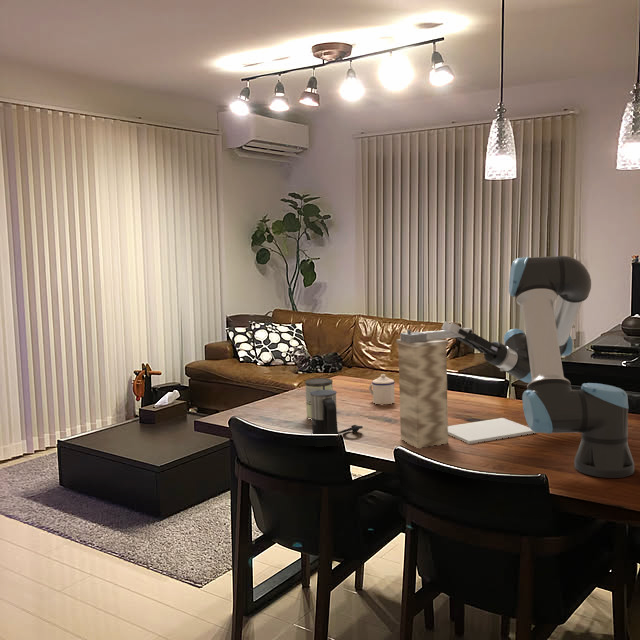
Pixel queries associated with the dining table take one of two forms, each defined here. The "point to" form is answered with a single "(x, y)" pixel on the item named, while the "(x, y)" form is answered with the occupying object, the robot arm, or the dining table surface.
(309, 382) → the coffee can
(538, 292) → the robot arm
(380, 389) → the teacup with lid
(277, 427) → the dining table surface
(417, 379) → the beige zigzag tall box
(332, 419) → the milk frother
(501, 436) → the mat
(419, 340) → the brushed metal bar
